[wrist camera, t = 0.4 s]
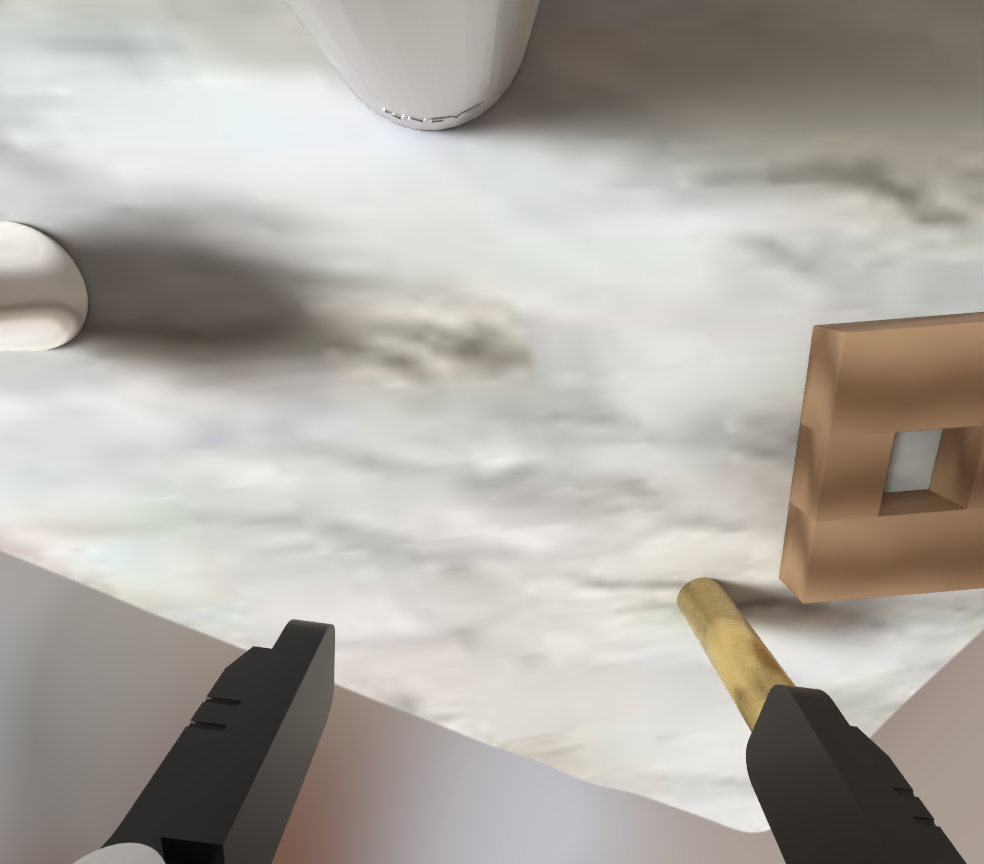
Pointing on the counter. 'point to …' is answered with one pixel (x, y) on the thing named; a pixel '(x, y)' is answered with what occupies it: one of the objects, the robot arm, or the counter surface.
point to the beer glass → (37, 291)
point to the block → (866, 454)
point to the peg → (731, 646)
